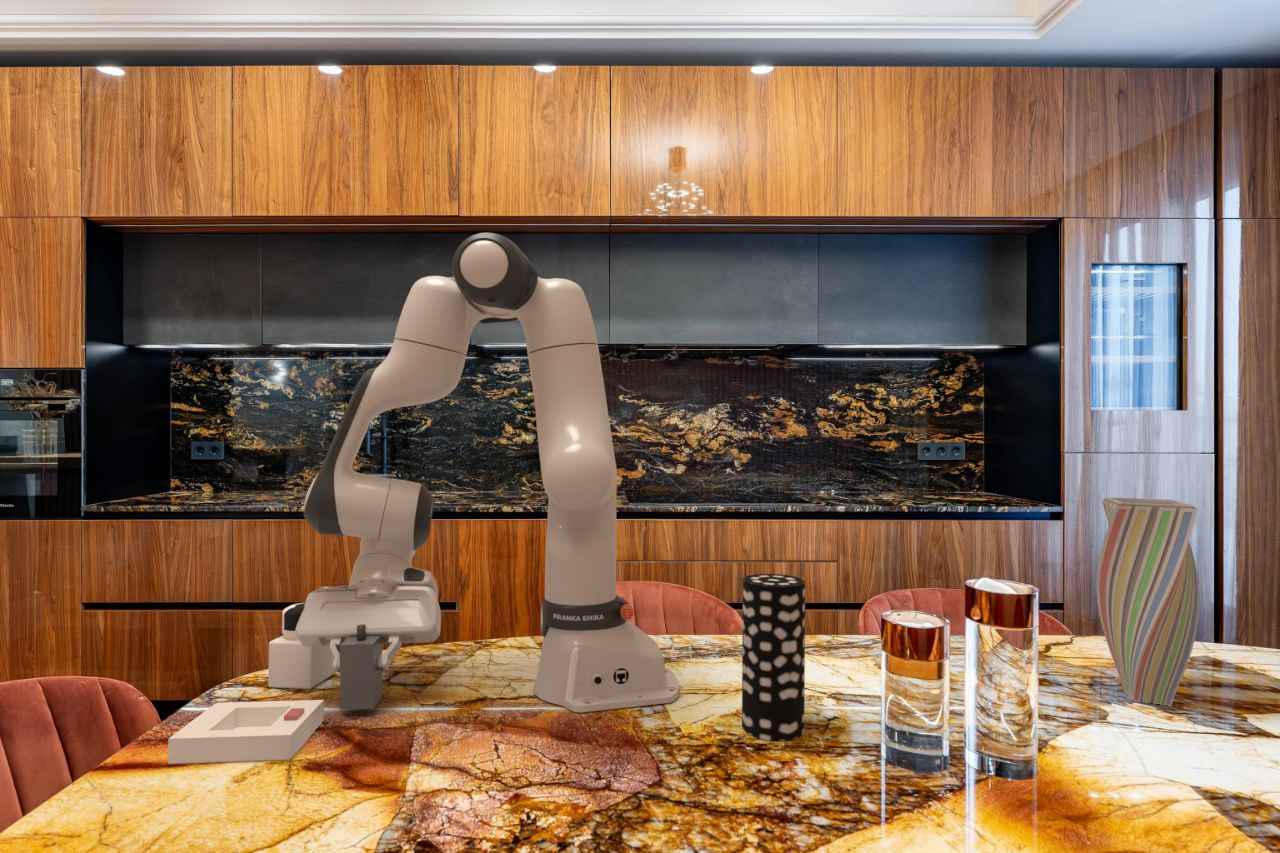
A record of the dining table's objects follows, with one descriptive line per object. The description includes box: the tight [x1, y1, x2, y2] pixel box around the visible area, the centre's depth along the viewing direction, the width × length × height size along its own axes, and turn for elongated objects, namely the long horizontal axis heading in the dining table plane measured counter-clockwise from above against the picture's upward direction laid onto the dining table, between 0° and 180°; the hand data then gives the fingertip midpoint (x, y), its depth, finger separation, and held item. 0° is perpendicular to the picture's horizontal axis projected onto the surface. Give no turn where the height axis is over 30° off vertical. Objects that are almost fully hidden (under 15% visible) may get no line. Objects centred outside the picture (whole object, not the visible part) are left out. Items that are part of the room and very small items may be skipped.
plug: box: [339, 624, 384, 711], centre depth 98 cm, size 4×4×11 cm
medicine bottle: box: [268, 602, 335, 690], centre depth 110 cm, size 7×7×12 cm
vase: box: [1095, 496, 1200, 707], centre depth 105 cm, size 14×14×30 cm
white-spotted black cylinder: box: [741, 573, 806, 742], centre depth 94 cm, size 8×8×20 cm
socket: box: [167, 699, 325, 765], centre depth 88 cm, size 14×11×4 cm
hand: (360, 669), depth 98 cm, fingers closed on plug, 4 cm apart
